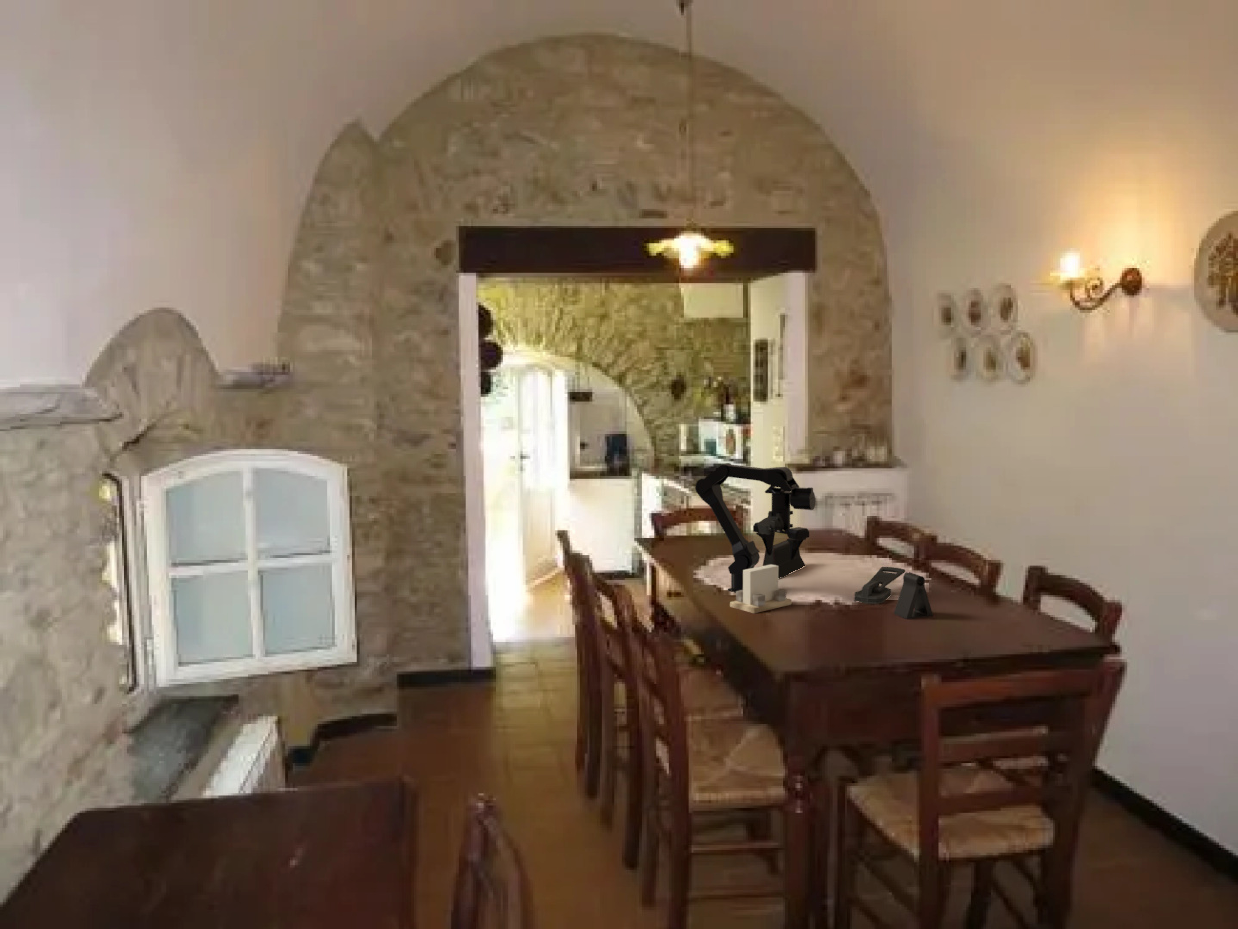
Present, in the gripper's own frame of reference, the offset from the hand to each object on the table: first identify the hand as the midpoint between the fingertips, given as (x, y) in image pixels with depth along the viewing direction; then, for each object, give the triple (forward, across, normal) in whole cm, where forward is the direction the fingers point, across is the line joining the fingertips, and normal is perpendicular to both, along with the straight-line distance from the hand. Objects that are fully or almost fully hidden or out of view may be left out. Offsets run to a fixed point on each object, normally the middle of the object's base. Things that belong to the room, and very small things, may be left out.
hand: (780, 557), depth 305 cm
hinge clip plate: (+12, +5, -14) cm, 19 cm away
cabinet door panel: (+10, +5, -14) cm, 18 cm away
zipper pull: (+12, +20, +24) cm, 33 cm away
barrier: (+12, -23, +26) cm, 37 cm away
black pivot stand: (+12, +41, +11) cm, 44 cm away
